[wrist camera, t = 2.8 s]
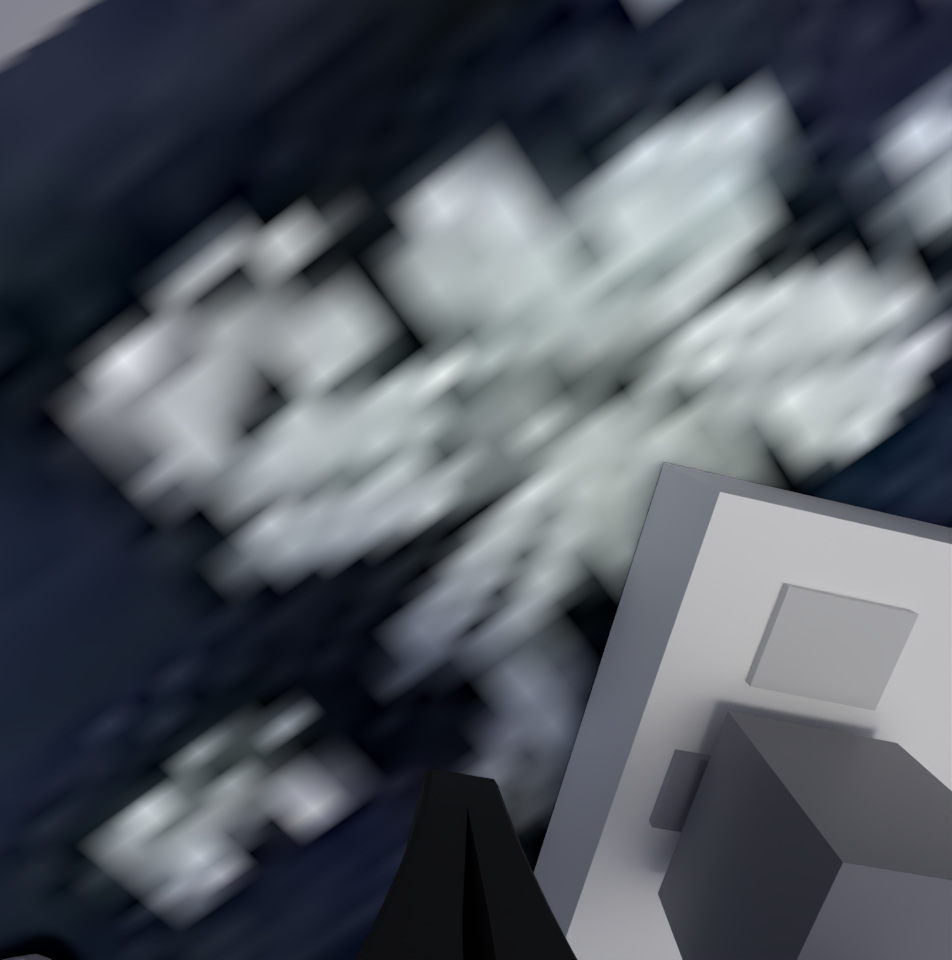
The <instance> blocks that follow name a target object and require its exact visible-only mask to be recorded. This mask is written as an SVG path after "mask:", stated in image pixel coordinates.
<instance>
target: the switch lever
mask: <svg viewBox="0 0 952 960" xmlns="http://www.w3.org/2000/svg"><path fill="white" fill-rule="evenodd" d="M658 896H659V898H660V901H661V904H662V906H663V909H664V912H665V914H666V917H667V920H668V922H669V925H670V928H671V931H672V933H673V936H674V939H675V941H676V944H677V947H678V949H679V952H680V955H681V957H682V960H952V791H951V790H950V789H949V788H948V787H946V786H945V785H944V784H943V783H942V782H941V781H940V780H938V779H937V778H936V777H935V776H934V775H933V774H932V773H931V772H929V771H928V770H927V769H926V768H925V767H924V766H923V765H922V764H920V763H919V762H918V761H917V760H916V759H915V758H914V757H912V756H911V755H910V754H909V753H908V752H907V751H906V750H905V749H903V748H902V747H901V746H900V745H899V744H898V743H895V742H890V741H884V740H879V739H874V738H869V737H863V736H858V735H853V734H847V733H842V732H837V731H831V730H826V729H821V728H815V727H810V726H805V725H799V724H794V723H789V722H784V721H778V720H773V719H768V718H762V717H757V716H752V715H746V714H741V713H736V712H730V711H728V713H727V715H726V718H725V720H724V723H723V725H722V728H721V731H720V733H719V736H718V738H717V741H716V744H715V746H714V749H713V751H712V754H711V757H710V759H709V762H708V764H707V767H706V770H705V772H704V775H703V777H702V780H701V783H700V785H699V788H698V790H697V793H696V795H695V798H694V801H693V803H692V806H691V808H690V811H689V814H688V816H687V819H686V821H685V824H684V827H683V829H682V832H681V834H680V837H679V840H678V842H677V845H676V847H675V850H674V853H673V855H672V858H671V860H670V863H669V865H668V868H667V871H666V873H665V876H664V878H663V881H662V884H661V886H660V889H659V891H658Z"/></svg>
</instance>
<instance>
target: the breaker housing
mask: <svg viewBox="0 0 952 960" xmlns="http://www.w3.org/2000/svg"><path fill="white" fill-rule="evenodd" d="M728 711H730V712H736V713H741V714H746V715H752V716H757V717H762V718H768V719H773V720H778V721H784V722H789V723H794V724H799V725H805V726H810V727H815V728H821V729H826V730H831V731H837V732H842V733H847V734H853V735H858V736H863V737H869V738H874V739H879V740H884V741H890V742H895V743H898V744H899V745H900V746H901V747H902V748H903V749H905V750H906V751H907V752H908V753H909V754H910V755H911V756H912V757H914V758H915V759H916V760H917V761H918V762H919V763H920V764H922V765H923V766H924V767H925V768H926V769H927V770H928V771H929V772H931V773H932V774H933V775H934V776H935V777H936V778H937V779H938V780H940V781H941V782H942V783H943V784H944V785H945V786H946V787H948V788H949V789H950V790H951V791H952V528H949V527H944V526H940V525H936V524H931V523H927V522H922V521H918V520H914V519H909V518H905V517H901V516H896V515H892V514H888V513H883V512H879V511H874V510H870V509H866V508H861V507H857V506H853V505H848V504H844V503H840V502H835V501H831V500H826V499H822V498H818V497H813V496H809V495H805V494H800V493H796V492H792V491H787V490H783V489H779V488H774V487H770V486H765V485H761V484H757V483H752V482H748V481H744V480H739V479H735V478H731V477H726V476H722V475H717V474H713V473H709V472H704V471H700V470H696V469H691V468H687V467H683V466H678V465H674V464H669V463H665V462H664V464H663V467H662V470H661V474H660V477H659V480H658V483H657V486H656V489H655V492H654V496H653V499H652V502H651V505H650V508H649V511H648V515H647V518H646V521H645V524H644V527H643V530H642V533H641V537H640V540H639V543H638V546H637V549H636V552H635V555H634V559H633V562H632V565H631V568H630V571H629V574H628V577H627V581H626V584H625V587H624V590H623V593H622V596H621V599H620V603H619V606H618V609H617V612H616V615H615V618H614V622H613V625H612V628H611V631H610V634H609V637H608V640H607V644H606V647H605V650H604V653H603V656H602V659H601V662H600V666H599V669H598V672H597V675H596V678H595V681H594V684H593V688H592V691H591V694H590V697H589V700H588V703H587V706H586V710H585V713H584V716H583V719H582V722H581V725H580V729H579V732H578V735H577V738H576V741H575V744H574V747H573V751H572V754H571V757H570V760H569V763H568V766H567V769H566V773H565V776H564V779H563V782H562V785H561V788H560V791H559V795H558V798H557V801H556V804H555V807H554V810H553V813H552V817H551V820H550V823H549V826H548V829H547V832H546V836H545V839H544V842H543V845H542V848H541V851H540V854H539V858H538V861H537V864H536V867H535V870H534V875H535V877H536V879H537V881H538V883H539V886H540V888H541V890H542V892H543V894H544V896H545V898H546V900H547V902H548V904H549V906H550V908H551V910H552V912H553V914H554V916H555V918H556V920H557V922H558V924H559V926H560V928H561V930H562V932H563V934H564V935H565V937H566V939H567V941H568V943H569V945H570V947H571V949H572V951H573V952H574V954H575V956H576V958H577V960H682V957H681V955H680V952H679V949H678V947H677V944H676V941H675V939H674V936H673V933H672V931H671V928H670V925H669V922H668V920H667V917H666V914H665V912H664V909H663V906H662V904H661V901H660V898H659V896H658V891H659V889H660V886H661V884H662V881H663V878H664V876H665V873H666V871H667V868H668V865H669V863H670V860H671V858H672V855H673V853H674V850H675V847H676V845H677V842H678V840H679V837H680V834H681V832H682V829H683V827H684V824H685V821H686V819H687V816H688V814H689V811H690V808H691V806H692V803H693V801H694V798H695V795H696V793H697V790H698V788H699V785H700V783H701V780H702V777H703V775H704V772H705V770H706V767H707V764H708V762H709V759H710V757H711V754H712V751H713V749H714V746H715V744H716V741H717V738H718V736H719V733H720V731H721V728H722V725H723V723H724V720H725V718H726V715H727V713H728Z"/></svg>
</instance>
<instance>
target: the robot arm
mask: <svg viewBox="0 0 952 960" xmlns="http://www.w3.org/2000/svg"><path fill="white" fill-rule="evenodd" d="M356 960H577V958H576V956H575V954H574V952H573V951H572V949H571V947H570V945H569V943H568V941H567V939H566V937H565V935H564V934H563V932H562V930H561V928H560V926H559V924H558V922H557V920H556V918H555V916H554V914H553V912H552V910H551V908H550V906H549V904H548V902H547V900H546V898H545V896H544V894H543V892H542V890H541V888H540V886H539V883H538V881H537V879H536V877H535V875H534V873H533V871H532V868H531V866H530V864H529V862H528V860H527V857H526V855H525V853H524V851H523V848H522V846H521V844H520V841H519V839H518V836H517V834H516V832H515V829H514V827H513V824H512V822H511V819H510V817H509V814H508V812H507V809H506V807H505V804H504V801H503V799H502V796H501V793H500V790H499V788H498V785H497V783H496V782H495V780H494V779H489V778H483V777H477V776H471V775H465V774H459V773H453V772H448V771H442V770H436V769H431V770H429V771H428V772H426V773H425V775H424V779H423V783H422V787H421V791H420V795H419V799H418V803H417V807H416V811H415V815H414V819H413V823H412V827H411V831H410V835H409V839H408V843H407V847H406V851H405V853H404V856H403V859H402V862H401V864H400V867H399V869H398V872H397V874H396V876H395V878H394V881H393V883H392V885H391V887H390V890H389V892H388V894H387V896H386V898H385V901H384V903H383V905H382V907H381V910H380V912H379V914H378V916H377V918H376V920H375V922H374V924H373V926H372V928H371V931H370V933H369V935H368V937H367V939H366V941H365V943H364V944H363V946H362V948H361V950H360V952H359V954H358V956H357V958H356Z"/></svg>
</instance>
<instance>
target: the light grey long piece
mask: <svg viewBox="0 0 952 960" xmlns="http://www.w3.org/2000/svg"><path fill="white" fill-rule="evenodd" d="M4 960H51V959H50V958H47V957H44V956H41V955H38V954H31V955H24V956H18V957H11V958H7V959H4Z"/></svg>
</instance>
